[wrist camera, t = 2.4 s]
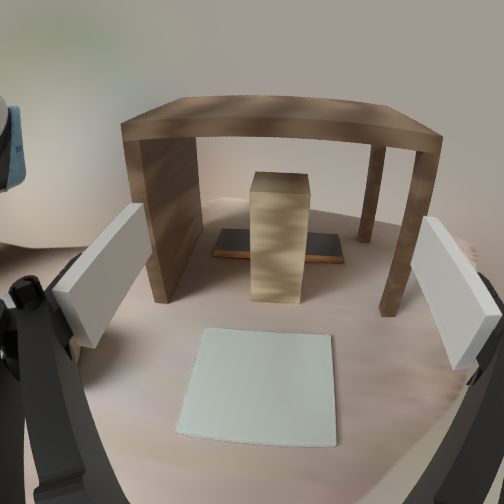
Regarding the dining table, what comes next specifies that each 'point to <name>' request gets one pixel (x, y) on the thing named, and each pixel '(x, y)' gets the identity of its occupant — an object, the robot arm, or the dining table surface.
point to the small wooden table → (266, 125)
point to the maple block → (278, 235)
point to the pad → (261, 389)
